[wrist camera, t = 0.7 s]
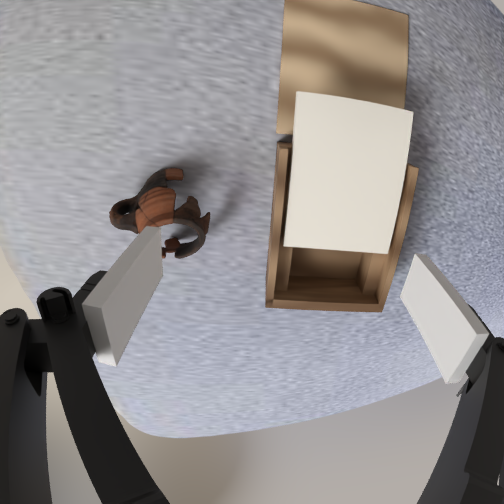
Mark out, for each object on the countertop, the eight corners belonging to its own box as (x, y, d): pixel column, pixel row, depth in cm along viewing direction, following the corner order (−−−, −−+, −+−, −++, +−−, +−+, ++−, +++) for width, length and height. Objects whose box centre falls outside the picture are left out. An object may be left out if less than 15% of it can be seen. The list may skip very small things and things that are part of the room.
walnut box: (277, 141, 34) (279, 148, 28) (395, 157, 34) (418, 168, 28) (265, 278, 42) (265, 307, 36) (368, 284, 42) (381, 312, 36)
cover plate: (296, 91, 27) (297, 91, 26) (407, 111, 27) (413, 111, 26) (282, 240, 34) (283, 246, 33) (383, 248, 34) (387, 254, 33)
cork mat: (285, -9, 25) (285, -10, 25) (407, 15, 25) (408, 15, 25) (276, 133, 33) (276, 133, 33) (398, 149, 33) (399, 150, 33)
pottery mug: (206, 160, 36) (213, 208, 31) (205, 214, 43) (212, 262, 38) (107, 169, 33) (97, 219, 29) (122, 221, 41) (117, 271, 36)
